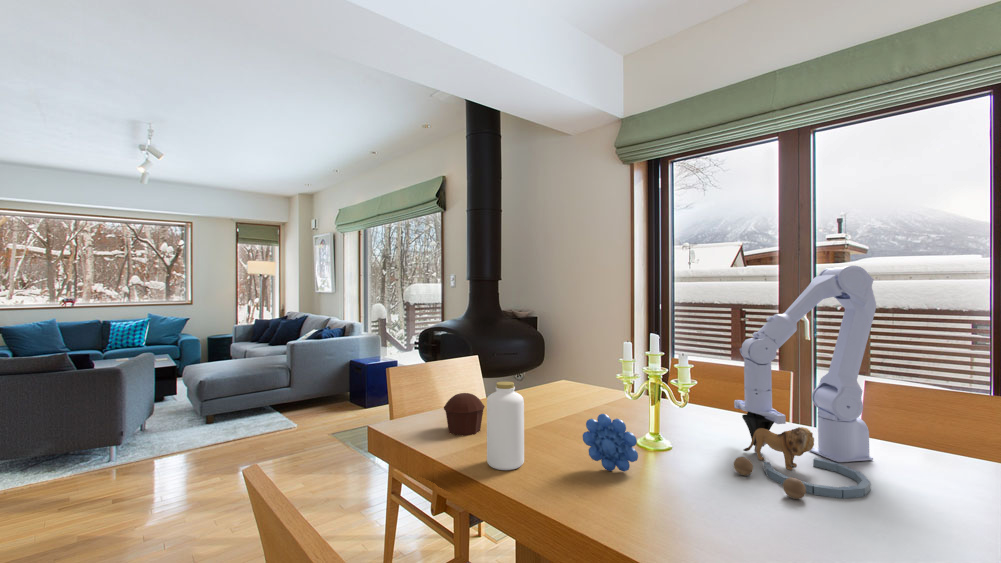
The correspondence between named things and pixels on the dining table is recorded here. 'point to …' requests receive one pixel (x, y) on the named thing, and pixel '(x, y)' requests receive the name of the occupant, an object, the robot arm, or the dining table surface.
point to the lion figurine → (784, 443)
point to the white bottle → (505, 427)
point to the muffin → (464, 414)
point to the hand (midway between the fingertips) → (758, 445)
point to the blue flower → (610, 443)
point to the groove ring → (829, 491)
